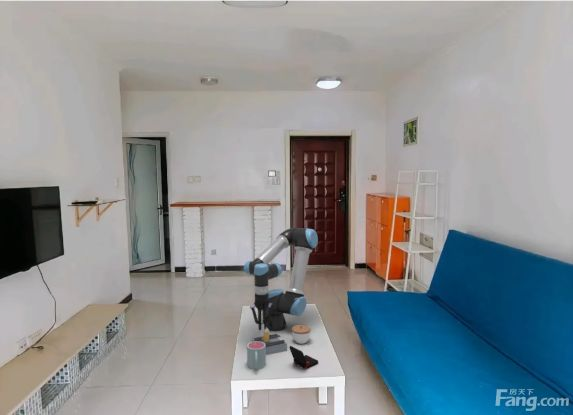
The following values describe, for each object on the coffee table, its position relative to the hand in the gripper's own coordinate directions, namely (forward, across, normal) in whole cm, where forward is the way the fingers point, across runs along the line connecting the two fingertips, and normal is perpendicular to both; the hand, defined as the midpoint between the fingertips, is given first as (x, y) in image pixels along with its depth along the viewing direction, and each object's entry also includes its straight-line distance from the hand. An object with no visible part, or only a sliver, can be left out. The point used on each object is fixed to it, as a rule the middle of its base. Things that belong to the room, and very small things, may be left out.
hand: (262, 335), depth 201 cm
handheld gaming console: (+9, +14, -23) cm, 29 cm away
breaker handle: (+4, +2, 0) cm, 5 cm away
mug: (+8, -9, -16) cm, 20 cm away
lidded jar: (+9, +24, +1) cm, 26 cm away
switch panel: (+8, +4, 0) cm, 9 cm away
